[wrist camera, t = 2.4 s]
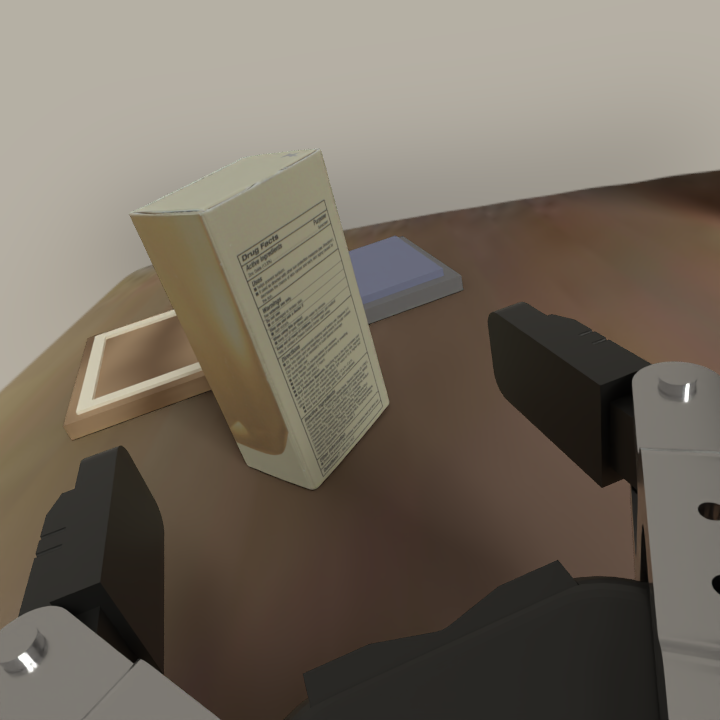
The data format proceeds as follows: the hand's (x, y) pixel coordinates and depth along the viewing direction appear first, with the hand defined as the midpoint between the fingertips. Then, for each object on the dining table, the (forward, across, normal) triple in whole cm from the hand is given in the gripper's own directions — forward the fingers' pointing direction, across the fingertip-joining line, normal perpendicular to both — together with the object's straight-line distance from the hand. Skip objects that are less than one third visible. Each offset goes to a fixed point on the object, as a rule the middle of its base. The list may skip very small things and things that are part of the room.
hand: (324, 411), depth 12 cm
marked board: (+26, +6, +9) cm, 28 cm away
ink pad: (+26, -7, +9) cm, 28 cm away
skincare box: (+12, 0, +9) cm, 15 cm away
